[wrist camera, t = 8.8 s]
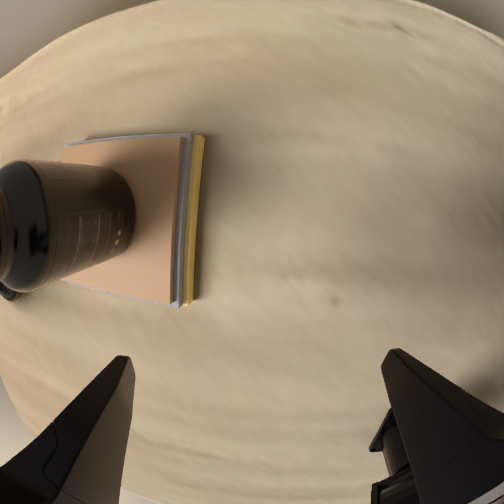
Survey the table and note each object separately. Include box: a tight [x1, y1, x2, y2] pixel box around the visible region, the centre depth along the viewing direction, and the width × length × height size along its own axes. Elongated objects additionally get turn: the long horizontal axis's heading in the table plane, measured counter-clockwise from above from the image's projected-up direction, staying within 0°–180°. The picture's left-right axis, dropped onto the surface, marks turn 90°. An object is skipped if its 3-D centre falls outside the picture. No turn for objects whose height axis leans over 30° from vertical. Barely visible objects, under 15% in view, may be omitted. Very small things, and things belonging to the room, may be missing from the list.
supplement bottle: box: [0, 160, 136, 292], centre depth 12 cm, size 7×7×12 cm
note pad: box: [61, 133, 205, 308], centre depth 19 cm, size 12×12×3 cm
